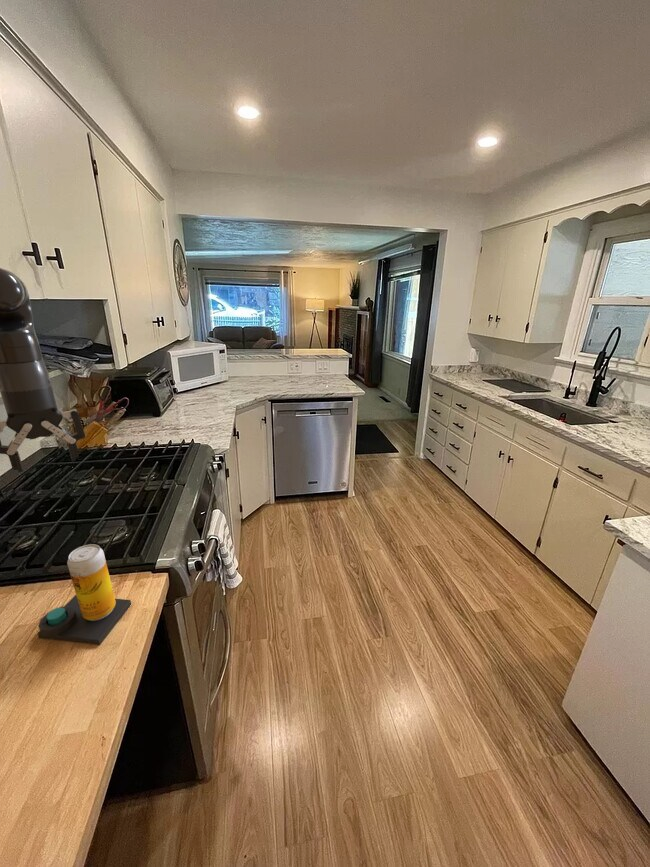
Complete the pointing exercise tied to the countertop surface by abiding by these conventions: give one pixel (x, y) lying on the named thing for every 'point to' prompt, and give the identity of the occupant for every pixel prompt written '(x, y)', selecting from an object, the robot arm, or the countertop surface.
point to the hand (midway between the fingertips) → (48, 464)
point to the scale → (82, 624)
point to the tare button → (56, 616)
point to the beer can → (91, 582)
